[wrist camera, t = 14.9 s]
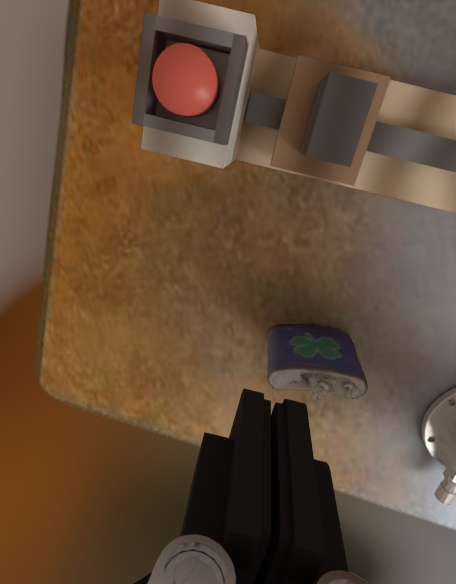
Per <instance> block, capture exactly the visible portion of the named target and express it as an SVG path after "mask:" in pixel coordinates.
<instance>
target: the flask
mask: <svg viewBox="0 0 456 584" xmlns="http://www.w3.org/2000/svg"><path fill="white" fill-rule="evenodd" d="M267 379H268V381H269V384H270V385H271V386H272V388H274V389H277V390H312V391H313V393H312V394H311V395H310V397H311V398H312V399H314V400H316V401H317V402H318V401H320V399H318V398H317V396H318V395H322V396H324V395H325V394H326V393H327V392H328V393H334V394H337V395H339V396H343V397H345V398H352V399H354V398H358V397H359V396H362V395H364V394H365V393H366V392H367V381H366V378H365V376H364V373H363V371H362V368H361V365H360V363H359V360H358V357H357V353H356V350H355V347H354V344H353V342H352V340H351V338H350V335H349V334H348V333H347V332H346V331H343V330H341V329H338V328H333V327H330V326H324V325H315V324H312V325H306V324H295V325H294V324H282V325H279V326H275V327H272V329H271V330H270V331H269V333H268V377H267Z"/></svg>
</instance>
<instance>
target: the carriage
mask: <svg viewBox="0 0 456 584" xmlns="http://www.w3.org/2000/svg"><path fill="white" fill-rule="evenodd" d="M390 79H391V77H390V76H386V75H382V74H378V73H373V72H369V71H365V70H361V69H357V68H352V67H348V66H344V65H340V64H336V63H331V62H327V61H323V60H319V59H315V58H310V57H306V56H302V55H298V57H297V60H296V63H295V67H294V71H293V75H292V79H291V83H290V87H289V91H288V95H287V99H286V103H285V107H284V111H283V115H282V119H281V123H280V127H279V131H278V135H277V139H276V143H275V147H274V151H273V155H272V159H271V163H270V166H273V167H277V168H281V169H286V170H290V171H294V172H298V173H302V174H306V175H311V176H315V177H319V178H323V179H327V180H331V181H335V182H340V183H344V184H348V185H352V186H354V185H355V182H356V179H357V176H358V173H359V170H360V167H361V164H362V162H363V159H364V156H365V153H366V150H367V147H368V144H369V141H370V138H371V135H372V132H373V129H374V126H375V123H376V120H377V117H378V114H379V112H380V109H381V106H382V103H383V100H384V97H385V94H386V91H387V88H388V85H389V82H390Z"/></svg>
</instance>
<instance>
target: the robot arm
mask: <svg viewBox="0 0 456 584" xmlns="http://www.w3.org/2000/svg"><path fill="white" fill-rule="evenodd" d="M421 434H422V439H423V442H424V444H425V446H426V448H427V450H428V452H429V453H430V454H431V456H432V457H433V458H434V459H435V460H437V461H438V462H439V463H441V464H442V465H444V466H445V468H446V469H445V471H444V473H443V474H444V477H445V478H444V480H443V481H442V482H441V483H440V484H439V486H438V488H437V489H436V491H435V496H436V498H437V499H438V500H439V501H440V502H441V503H443V504H446V505H450V504H451V503H452V501H453V499H454V498H455V496H456V387H455V388H453V389H451V390H449V391H447V392H446V393H444V394H443V395H442V396H440V397H439V398H437V399H436V401H435V402H434V403H433V404H432V405H431V406H430V407H429V409H428V410H427V412H426V413H425V416H424V418H423V421H422V426H421ZM134 584H368V583H367V582H366V581H365V580H363V579H362V578H360V577H358V576H356V575H355V574H353V573H350V572H348V568H347V561H346V556H345V550H344V545H343V539H342V533H341V528H340V523H339V517H338V511H337V507H336V501H335V494H334V489H333V483H332V478H331V472H330V468H329V465H328V464H327V462H323V461H319V460H315V459H314V457H313V450H312V442H311V435H310V428H309V420H308V413H307V406H306V404H305V403H300V402H296V401H292V400H288V399H284V401H283V403H282V404H281V403H277V402H276V403H275V405H274V408H273V411H272V414H271V401H269V400H265V399H264V394H263V393H260V392H256V391H252V390H248V389H243V391H242V394H241V398H240V401H239V405H238V408H237V412H236V415H235V419H234V422H233V426H232V429H231V433H230V436H229V438H226V437H221V436H217V435H213V434H209V433H204V436H203V440H202V444H201V448H200V452H199V456H198V460H197V464H196V468H195V472H194V477H193V481H192V486H191V490H190V494H189V499H188V503H187V508H186V512H185V517H184V521H183V526H182V530H181V535H180V537H179V538H177V539H174V540H173V541H172V542H171V543H169V544H168V545H167V546H166V547H165V548H164V550H163V551H162V553H161V555H160V556H159V558H158V560H157V562H156V565H155V567H154V569H153V572H152V573H150V574H148V575H147V576H145V577H144V578H142V579H141V580H139V581H137V582H136V583H134Z"/></svg>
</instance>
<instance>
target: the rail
mask: <svg viewBox="0 0 456 584" xmlns="http://www.w3.org/2000/svg"><path fill="white" fill-rule="evenodd" d="M178 43H188V44H192V45H194V46H196V47H198V48H200V49H201V50H202V51H203V52H204V53H205V54H206V55H207V56H208V57H209V59H210V60H211V61H212V62H213V64H214V65H215V67H216V68H217V70H218V72H219V75H220V80H221V91H220V96H219V99H218V101H217V103H216V104H215V106H214V107H213V108H212V109H211V110H210V111H209V112H208V113H206V114H204V115H202V116H198V117H189V116H184V115H179V114H175V113H173V112H171V111H169V110H168V109H166V108H165V107H164V106H163V105H162V104H161V102H160V101H159V100H158V98H157V96H156V94H155V91H154V88H153V82H152V74H153V68H154V65H155V62H156V60H157V58H158V57H159V55H160V54H161V53H162V52H163V51H164V50H165V49H166V48H168V47H169V46H171V45H174V44H178ZM296 60H297V57H293V56H289V55H284V54H280V53H276V52H272V51H268V50H263V49H259V43H258V35H257V27H256V19H255V15H253V14H249V13H245V12H241V11H236V10H232V9H228V8H224V7H220V6H215V5H211V4H207V3H203V2H199V1H194V0H160V1H159V9H158V15H156V14H151V13H147V12H145V13H144V22H143V30H142V39H141V48H140V57H139V66H138V75H137V83H136V92H135V101H134V110H133V119H132V123H133V124H137V125H142V126H144V129H143V137H142V145H141V149H144V150H148V151H152V152H156V153H160V154H164V155H169V156H173V157H177V158H181V159H185V160H189V161H193V162H198V163H202V164H206V165H210V166H214V167H218V168H222V169H223V168H225V167H226V166H227V165H229V164H230V163H231V162H233V161H234V160H239V161H243V162H247V163H251V164H255V165H259V166H264V167H268V168H272V169H276V170H280V171H284V172H288V173H293V174H297V175H301V176H305V177H309V178H313V179H317V180H322V181H326V182H330V183H334V184H338V185H342V186H346V187H351V188H355V189H359V190H363V191H367V192H371V193H376V194H380V195H384V196H388V197H392V198H396V199H400V200H405V201H409V202H413V203H417V204H421V205H425V206H429V207H434V208H438V209H442V210H446V211H450V212H454V213H456V95H452V94H448V93H444V92H439V91H435V90H431V89H427V88H423V87H418V86H414V85H410V84H406V83H402V82H398V81H393V80H390V82H389V85H388V88H387V91H386V94H385V97H384V100H383V103H382V106H381V109H380V112H379V114H378V117H377V120H376V123H375V126H374V129H373V132H372V135H371V138H370V141H369V144H368V147H367V150H366V153H365V156H364V159H363V162H362V164H361V167H360V170H359V173H358V176H357V179H356V182H355V185H354V186H352V185H348V184H344V183H340V182H335V181H331V180H327V179H323V178H319V177H315V176H311V175H306V174H302V173H298V172H294V171H290V170H286V169H281V168H277V167H273V166H270V163H271V159H272V155H273V151H274V147H275V143H276V139H277V135H278V131H279V127H280V123H281V119H282V115H283V111H284V107H285V103H286V99H287V95H288V91H289V87H290V83H291V79H292V75H293V71H294V67H295V63H296Z"/></svg>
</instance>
